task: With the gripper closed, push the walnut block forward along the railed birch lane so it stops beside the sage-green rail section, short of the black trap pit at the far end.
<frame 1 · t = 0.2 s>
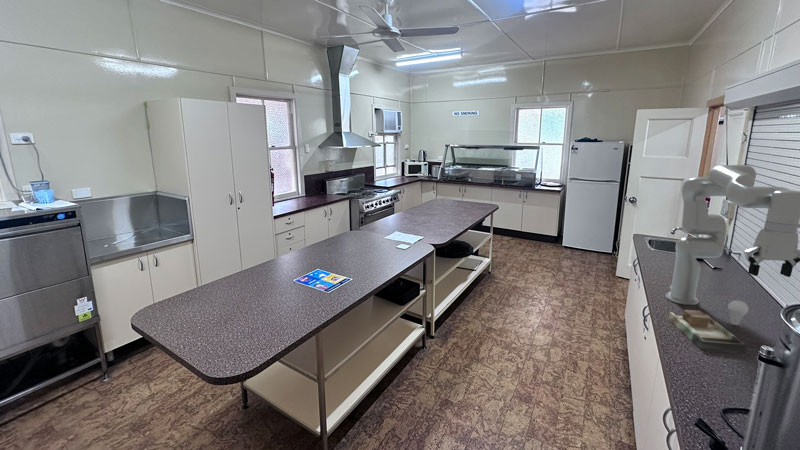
hand: (768, 274, 121), 31 cm above the countertop, tool pointing down, fingers open, 9 cm apart
walnut block: (694, 322, 146), point 2 cm above the countertop, touching trap lane
lightbulb: (734, 325, 147), on the countertop
trap lane: (704, 335, 140), on the countertop
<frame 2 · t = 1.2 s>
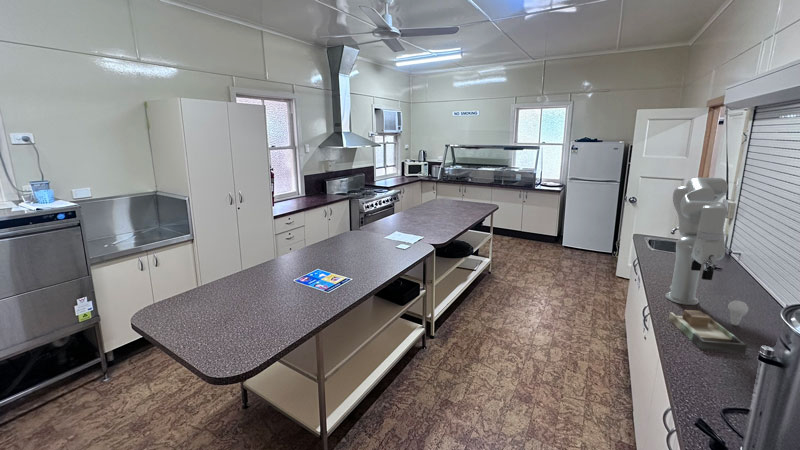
hand: (700, 274, 145), 22 cm above the countertop, tool pointing down, fingers open, 9 cm apart
nothing on the countertop moved.
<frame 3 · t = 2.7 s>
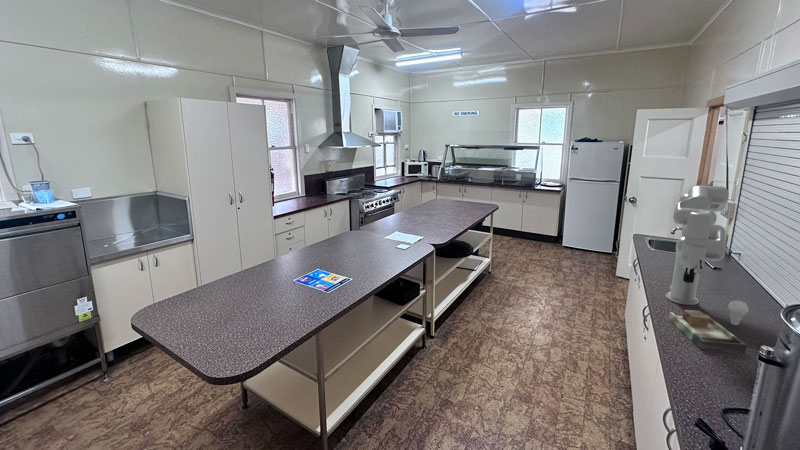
hand: (688, 281, 151), 17 cm above the countertop, tool pointing down, fingers closed
nothing on the countertop moved.
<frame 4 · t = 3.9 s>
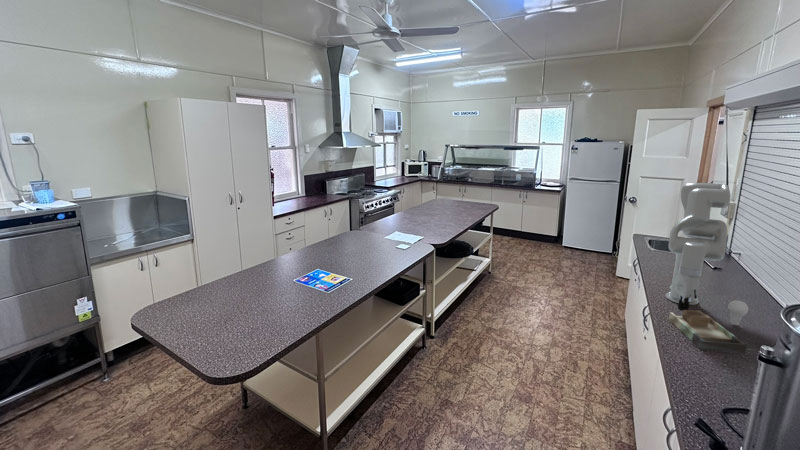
hand: (682, 309, 154), 3 cm above the countertop, tool pointing down, fingers closed
nothing on the countertop moved.
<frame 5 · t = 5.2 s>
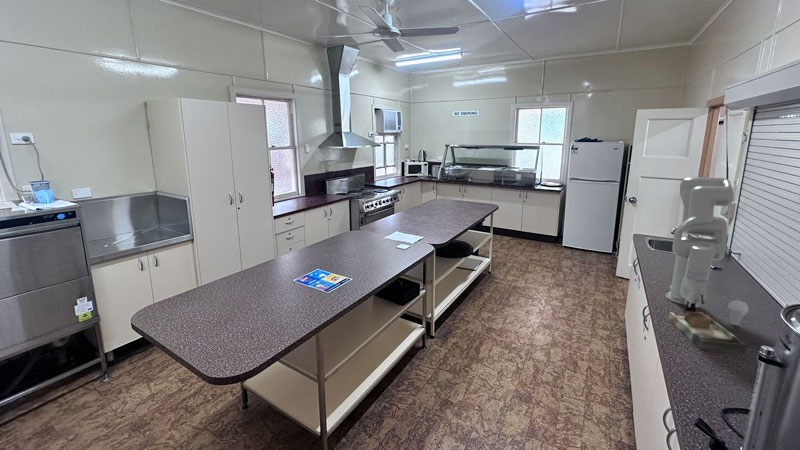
hand: (689, 315, 149), 3 cm above the countertop, tool pointing down, fingers closed
walnut block: (696, 323, 145), point 2 cm above the countertop, touching gripper
everything else where it was.
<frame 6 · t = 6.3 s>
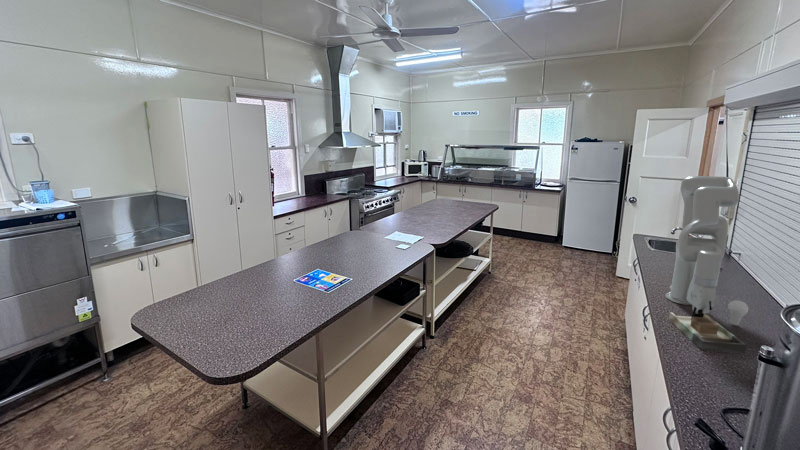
hand: (696, 321, 145), 3 cm above the countertop, tool pointing down, fingers closed
walnut block: (703, 329, 140), point 2 cm above the countertop, touching gripper, trap lane
everything else where it was.
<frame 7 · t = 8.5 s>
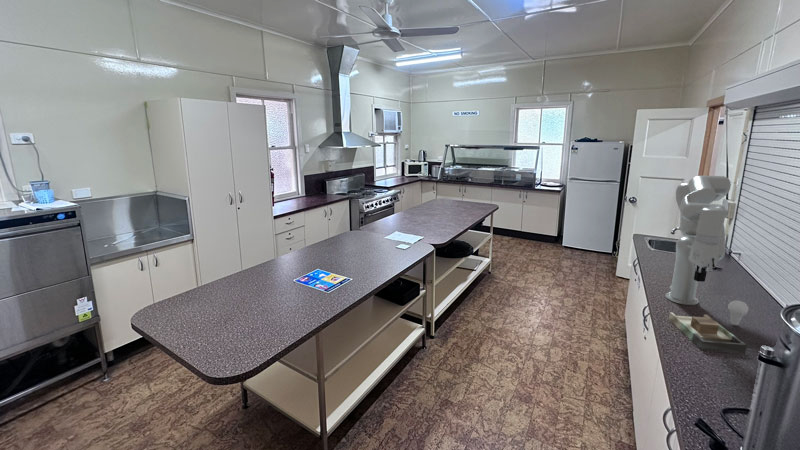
hand: (699, 280, 144), 20 cm above the countertop, tool pointing down, fingers closed
walnut block: (703, 329, 140), point 2 cm above the countertop, touching trap lane
everything else where it was.
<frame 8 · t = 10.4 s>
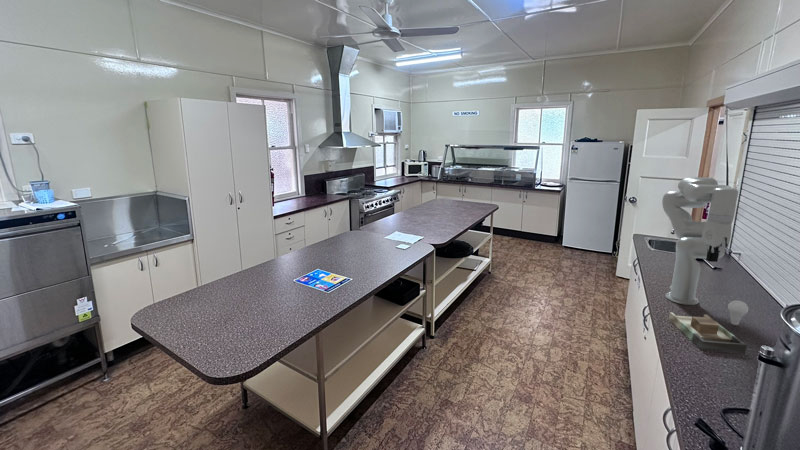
hand: (711, 260, 145), 27 cm above the countertop, tool pointing down, fingers closed
nothing on the countertop moved.
at the end: walnut block inside the target area (1.1 cm from its centre), point 2.0 cm above the countertop; walnut block tilted 0° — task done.
